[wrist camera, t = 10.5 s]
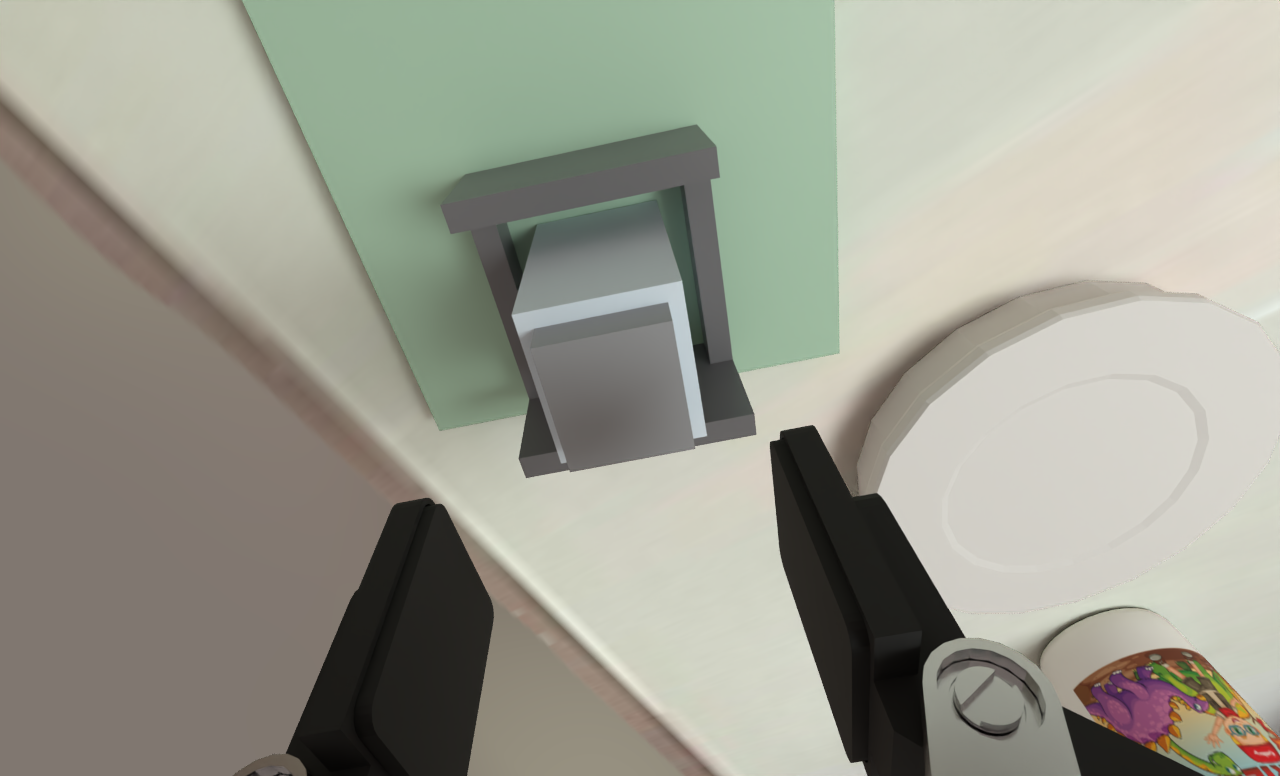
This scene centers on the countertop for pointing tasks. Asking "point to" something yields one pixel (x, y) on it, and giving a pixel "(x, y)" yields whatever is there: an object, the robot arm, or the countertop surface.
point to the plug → (609, 338)
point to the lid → (1073, 441)
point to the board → (558, 123)
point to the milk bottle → (1158, 693)
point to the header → (592, 180)
